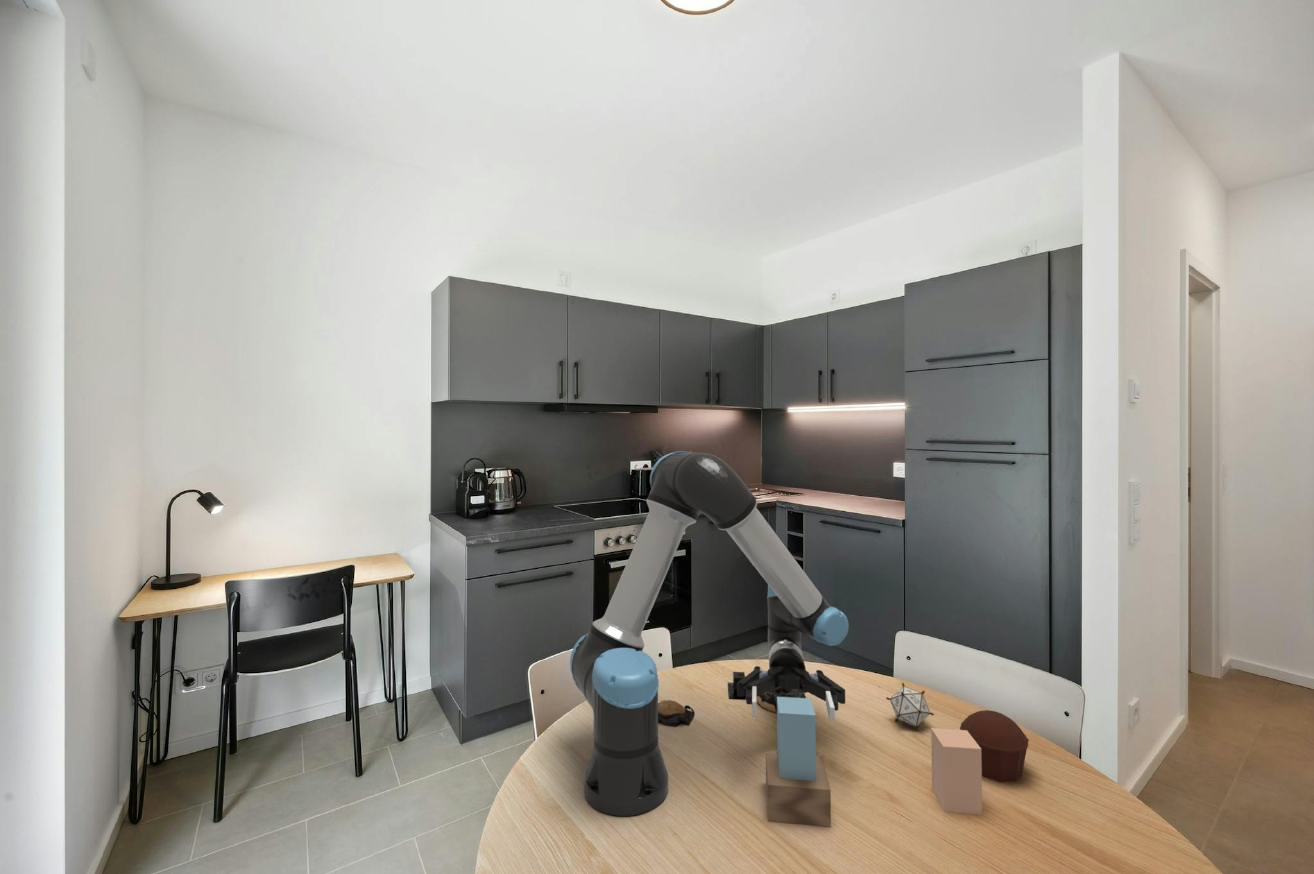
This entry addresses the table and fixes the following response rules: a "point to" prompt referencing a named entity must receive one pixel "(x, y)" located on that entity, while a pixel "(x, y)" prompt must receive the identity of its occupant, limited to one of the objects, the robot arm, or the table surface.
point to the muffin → (998, 744)
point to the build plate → (735, 686)
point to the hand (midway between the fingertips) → (792, 712)
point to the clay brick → (956, 771)
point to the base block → (798, 795)
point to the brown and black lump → (674, 714)
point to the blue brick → (796, 738)
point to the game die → (910, 706)
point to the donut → (770, 697)
